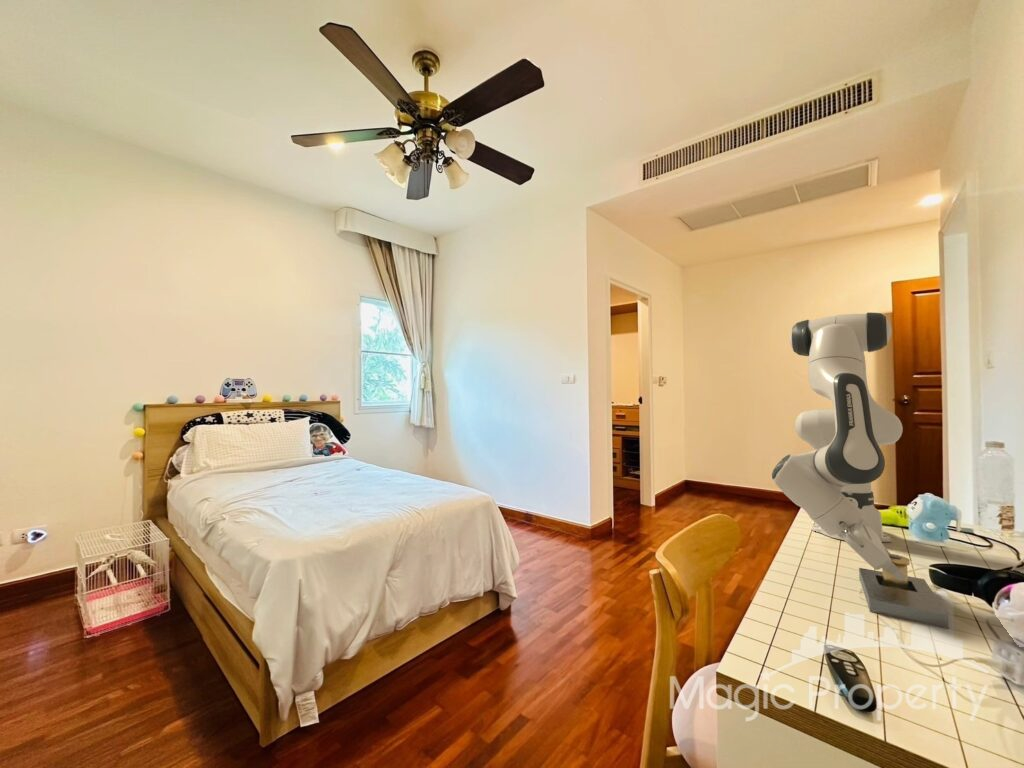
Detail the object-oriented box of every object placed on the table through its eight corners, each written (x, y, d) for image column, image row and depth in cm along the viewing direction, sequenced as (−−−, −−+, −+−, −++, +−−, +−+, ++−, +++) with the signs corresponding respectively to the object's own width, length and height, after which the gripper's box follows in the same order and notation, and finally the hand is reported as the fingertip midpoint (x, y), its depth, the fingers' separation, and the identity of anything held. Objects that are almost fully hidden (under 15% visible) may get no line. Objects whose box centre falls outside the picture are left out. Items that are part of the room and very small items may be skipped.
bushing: (879, 587, 92) (877, 551, 92) (908, 593, 89) (906, 555, 89) (882, 596, 88) (881, 558, 88) (913, 602, 85) (911, 563, 85)
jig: (859, 578, 96) (859, 567, 96) (924, 590, 90) (924, 579, 90) (869, 611, 82) (869, 598, 82) (948, 628, 75) (948, 615, 75)
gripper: (856, 520, 84) (924, 580, 78) (847, 499, 101) (902, 547, 95) (829, 538, 87) (894, 597, 81) (825, 515, 104) (878, 562, 98)
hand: (898, 570), depth 88 cm, fingers open, 8 cm apart
